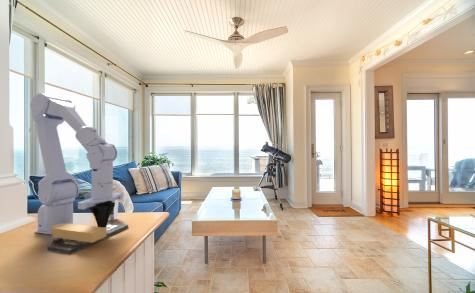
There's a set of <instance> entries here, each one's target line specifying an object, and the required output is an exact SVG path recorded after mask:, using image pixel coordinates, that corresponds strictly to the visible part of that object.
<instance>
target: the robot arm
mask: <svg viewBox="0 0 475 293" xmlns="http://www.w3.org/2000/svg"><path fill="white" fill-rule="evenodd" d="M29 106H30V111H31V116H32V119H33V122H34V124H35V125H34V126H35V130H36V135H37V138H38V145H39V148H40V149H39V150H40V154H41V157H42V162H43V163H42V164H43V169H44V172H45V173H44V174H45V176H44V177H42V178H41V179H40V180H39V181H38V182H37V184H38V191H37V198H38V200H39V202H40V203H41V205H40V207H39V208H38V210H37V229H36V230H34V233H37V234H45V235H51V226H53V225H56V224H68V223H69V224H74V201H76V198H77V197H79V194H80V186H79V184H78V183H77V181H76V178H75V176H74V175H73V174H71V173H70V172H68V171H67V169H66V164H65V158H64V155H63V149H62V145H61V141H60V137H59V132H58V126H59V125H62V124H63V123H64V122H65V123H67V125H68V126H69V127H70V128H71V129H73V130H74V131H75V139H76V140H77V141H78V142H79V144H80V145H81V146H82V147H83V148H84V149H85V151H86V152H87V153H86V154H85V155H86V159H87V160H88V163H89V168H90V169H91V184H90V186H91V192H90V193H91V194H90V195H91V197H90V198H87V199H84V200H82V201H79V202H77V210H86V209H89V210H90V212H91V213H92V215H93V217H94V219H95V222H96V224H97V226H96V227H104V228H105V227H107V223H109V221H108V219H109V216H110V214H111V211H112V209H113V208H114V206H115V203H114V202H111V201H114V200H117V199H119V200H122V199H123V198H124V196H123V192H115V193H114V192H113V191H114V188H113V187H114V185H113V184H114V183H113V182H114V175H113V174H114V171H113V170H114V161H115V160H116V159H117V157H118V150H117V148H116V146H115V144H113V143H108V142H107V141H106V140H105V139H104V138H103V137H102V136H101V135H100V134H99V132H98V130H97V128H96V127H93V126H91V125H90V126H87V124H86V123H85V122H84V120H83V118H81V116H80V114H79V113H78V112H77V111H76V105H75V103H73V101H72V100H71V99H69V98H65V97H64V98H63V97H58V96H54V95H49V94H45V93H42V92H39V93H37V94H35V95H34V96H33V97H32V100H31V101H30V103H29Z"/></svg>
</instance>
